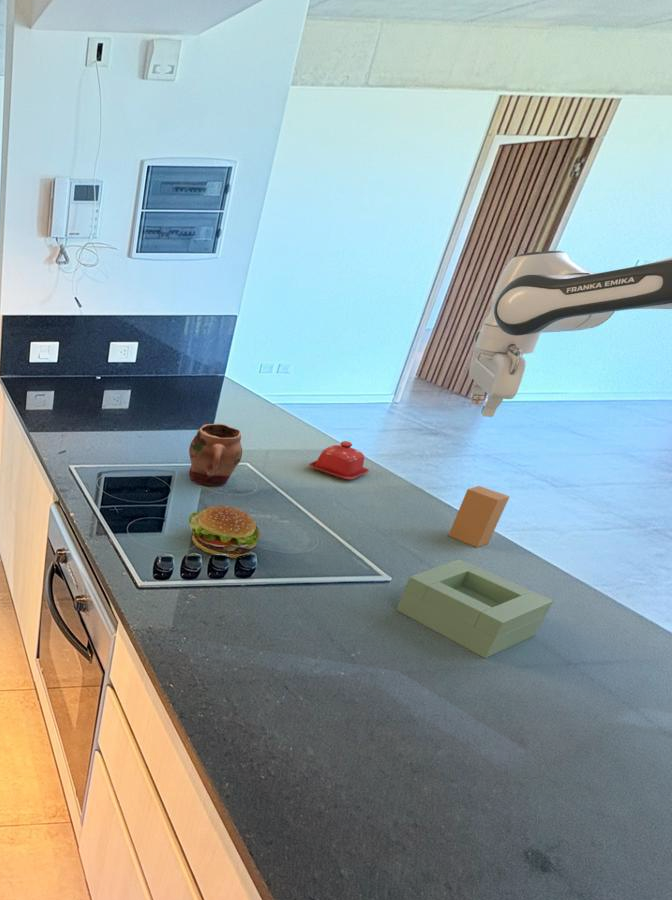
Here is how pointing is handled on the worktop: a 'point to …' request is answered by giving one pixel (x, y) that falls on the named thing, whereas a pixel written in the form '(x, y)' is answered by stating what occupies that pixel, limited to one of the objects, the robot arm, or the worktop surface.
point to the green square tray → (473, 607)
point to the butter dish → (341, 461)
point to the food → (224, 531)
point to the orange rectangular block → (478, 516)
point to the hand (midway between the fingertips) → (480, 409)
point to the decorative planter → (214, 454)
